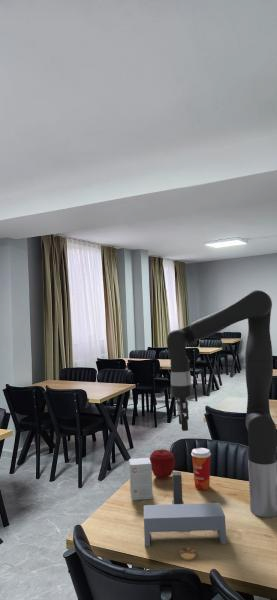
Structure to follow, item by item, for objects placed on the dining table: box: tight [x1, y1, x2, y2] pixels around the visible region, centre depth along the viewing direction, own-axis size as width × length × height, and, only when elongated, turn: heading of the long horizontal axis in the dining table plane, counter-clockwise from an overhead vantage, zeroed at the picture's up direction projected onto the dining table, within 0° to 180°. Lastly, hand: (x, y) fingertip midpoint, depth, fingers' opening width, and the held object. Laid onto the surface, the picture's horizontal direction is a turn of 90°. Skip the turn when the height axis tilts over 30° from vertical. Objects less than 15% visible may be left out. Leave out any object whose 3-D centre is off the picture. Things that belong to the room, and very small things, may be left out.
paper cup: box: [190, 447, 212, 491], centre depth 152 cm, size 8×8×14 cm
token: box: [179, 546, 197, 561], centre depth 109 cm, size 4×4×1 cm
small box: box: [128, 457, 154, 501], centre depth 146 cm, size 8×6×13 cm
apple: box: [149, 449, 176, 480], centre depth 162 cm, size 11×11×12 cm
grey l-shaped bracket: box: [171, 471, 185, 504], centre depth 130 cm, size 4×18×11 cm, turn 0°
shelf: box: [143, 502, 227, 547], centre depth 117 cm, size 24×8×8 cm, turn 90°
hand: (183, 427), depth 143 cm, fingers open, 8 cm apart
